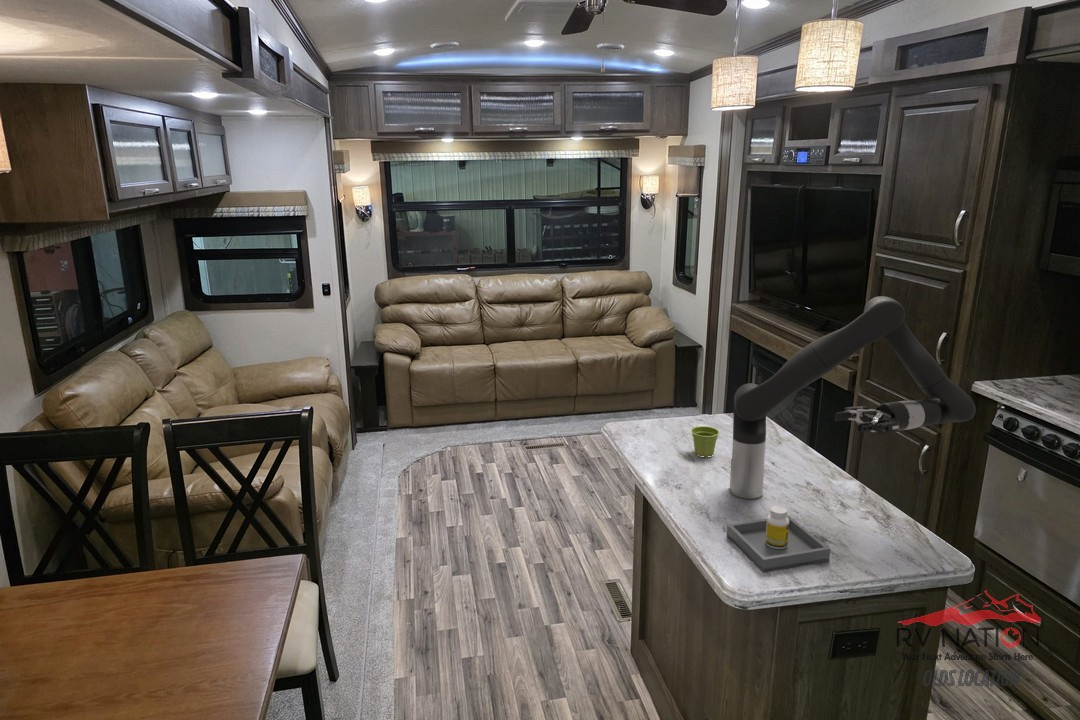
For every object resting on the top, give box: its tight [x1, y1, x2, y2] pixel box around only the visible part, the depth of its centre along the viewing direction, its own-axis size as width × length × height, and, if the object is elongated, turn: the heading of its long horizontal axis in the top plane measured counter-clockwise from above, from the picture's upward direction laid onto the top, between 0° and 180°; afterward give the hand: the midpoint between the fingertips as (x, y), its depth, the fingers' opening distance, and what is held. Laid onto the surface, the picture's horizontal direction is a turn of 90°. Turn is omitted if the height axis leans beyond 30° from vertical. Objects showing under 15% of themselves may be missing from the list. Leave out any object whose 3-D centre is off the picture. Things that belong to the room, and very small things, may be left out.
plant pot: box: [690, 425, 720, 458], centre depth 236 cm, size 9×9×9 cm
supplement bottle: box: [765, 505, 789, 549], centre depth 176 cm, size 5×5×10 cm
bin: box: [726, 514, 831, 573], centre depth 177 cm, size 18×18×4 cm
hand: (846, 422), depth 179 cm, fingers open, 8 cm apart
